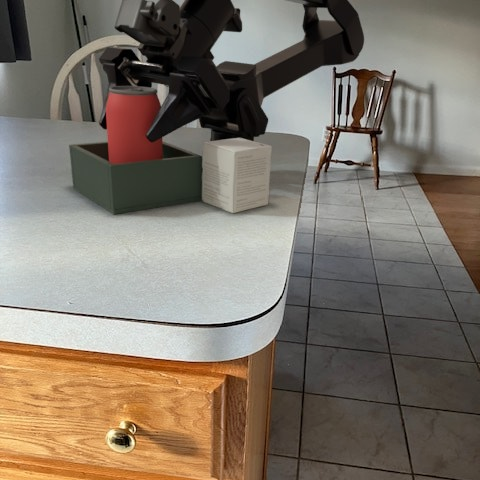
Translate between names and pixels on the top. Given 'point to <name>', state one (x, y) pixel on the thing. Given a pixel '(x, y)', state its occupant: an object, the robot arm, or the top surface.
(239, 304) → the top surface
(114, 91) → the beer can
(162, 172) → the open storage bin
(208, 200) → the product box
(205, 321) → the top surface
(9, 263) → the top surface
